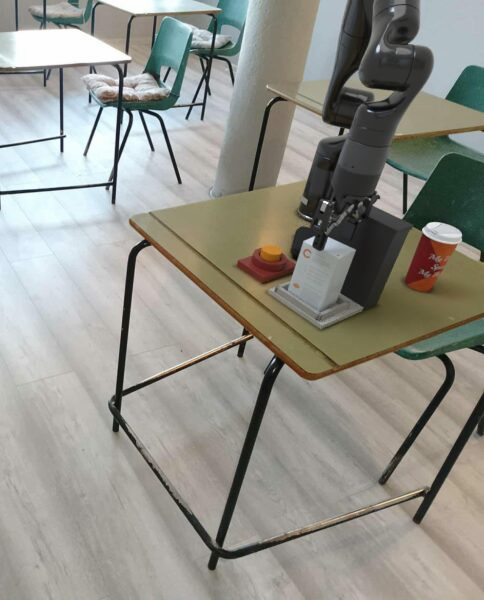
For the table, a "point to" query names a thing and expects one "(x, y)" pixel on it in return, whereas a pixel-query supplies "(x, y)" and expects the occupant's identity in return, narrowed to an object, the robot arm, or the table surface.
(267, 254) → the button
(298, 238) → the carrying case
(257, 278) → the button panel
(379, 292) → the coffee dock
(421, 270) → the paper cup
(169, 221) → the table surface
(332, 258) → the small box
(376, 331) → the table surface
